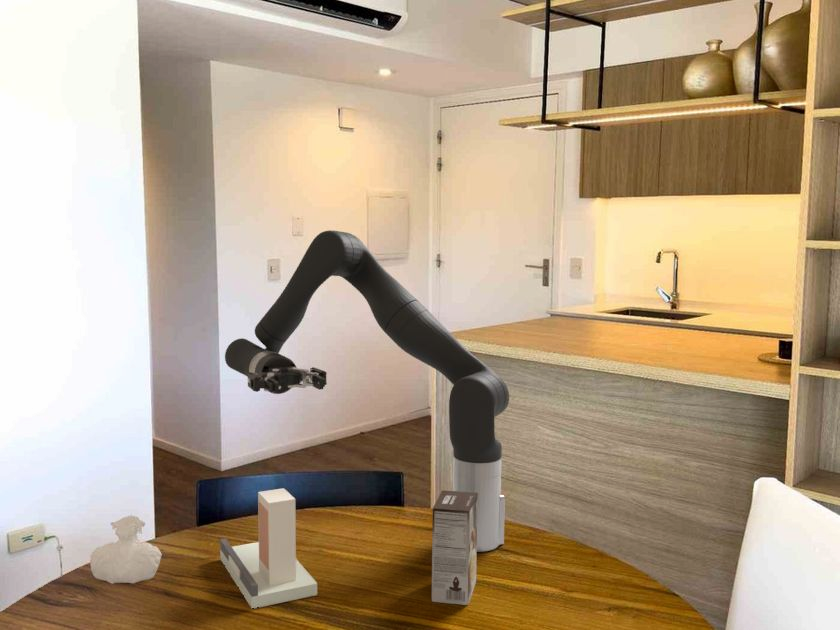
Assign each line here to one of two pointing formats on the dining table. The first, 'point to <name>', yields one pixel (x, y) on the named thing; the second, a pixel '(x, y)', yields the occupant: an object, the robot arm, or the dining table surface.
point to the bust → (125, 555)
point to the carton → (277, 536)
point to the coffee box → (454, 547)
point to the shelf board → (253, 585)
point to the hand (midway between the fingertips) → (299, 385)
